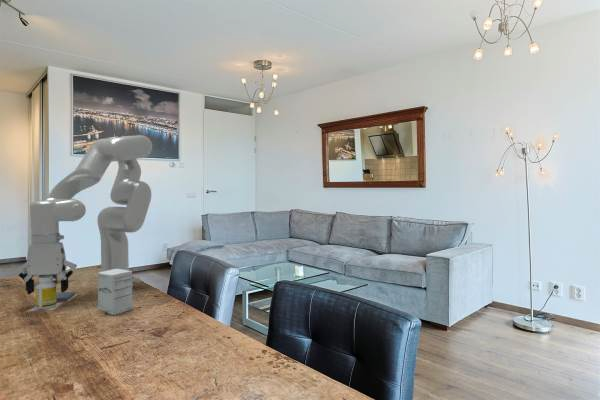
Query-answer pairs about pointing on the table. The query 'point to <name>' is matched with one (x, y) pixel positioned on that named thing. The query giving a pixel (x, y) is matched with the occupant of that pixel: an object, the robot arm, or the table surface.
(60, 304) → the stamping board
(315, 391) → the table surface
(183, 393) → the table surface
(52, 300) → the supplement bottle
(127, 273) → the supplement box
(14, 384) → the table surface
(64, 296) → the ink pad
